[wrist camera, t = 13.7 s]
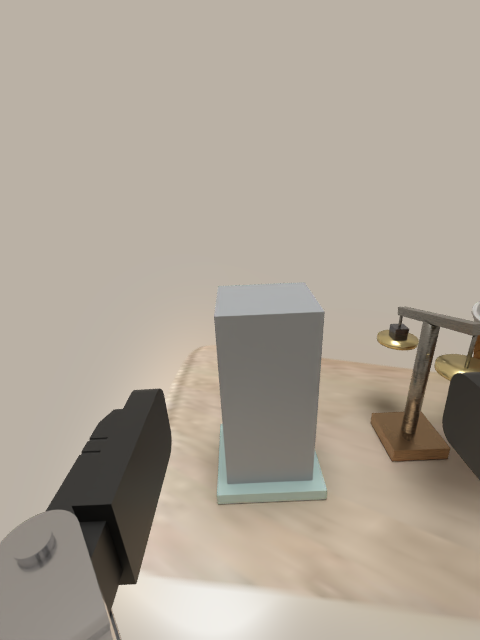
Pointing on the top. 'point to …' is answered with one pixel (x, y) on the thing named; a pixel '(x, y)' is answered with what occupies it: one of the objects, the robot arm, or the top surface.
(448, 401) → the robot arm
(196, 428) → the top surface
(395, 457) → the balance
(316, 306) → the cover
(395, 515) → the top surface
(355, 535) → the top surface
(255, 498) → the slab
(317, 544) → the top surface
